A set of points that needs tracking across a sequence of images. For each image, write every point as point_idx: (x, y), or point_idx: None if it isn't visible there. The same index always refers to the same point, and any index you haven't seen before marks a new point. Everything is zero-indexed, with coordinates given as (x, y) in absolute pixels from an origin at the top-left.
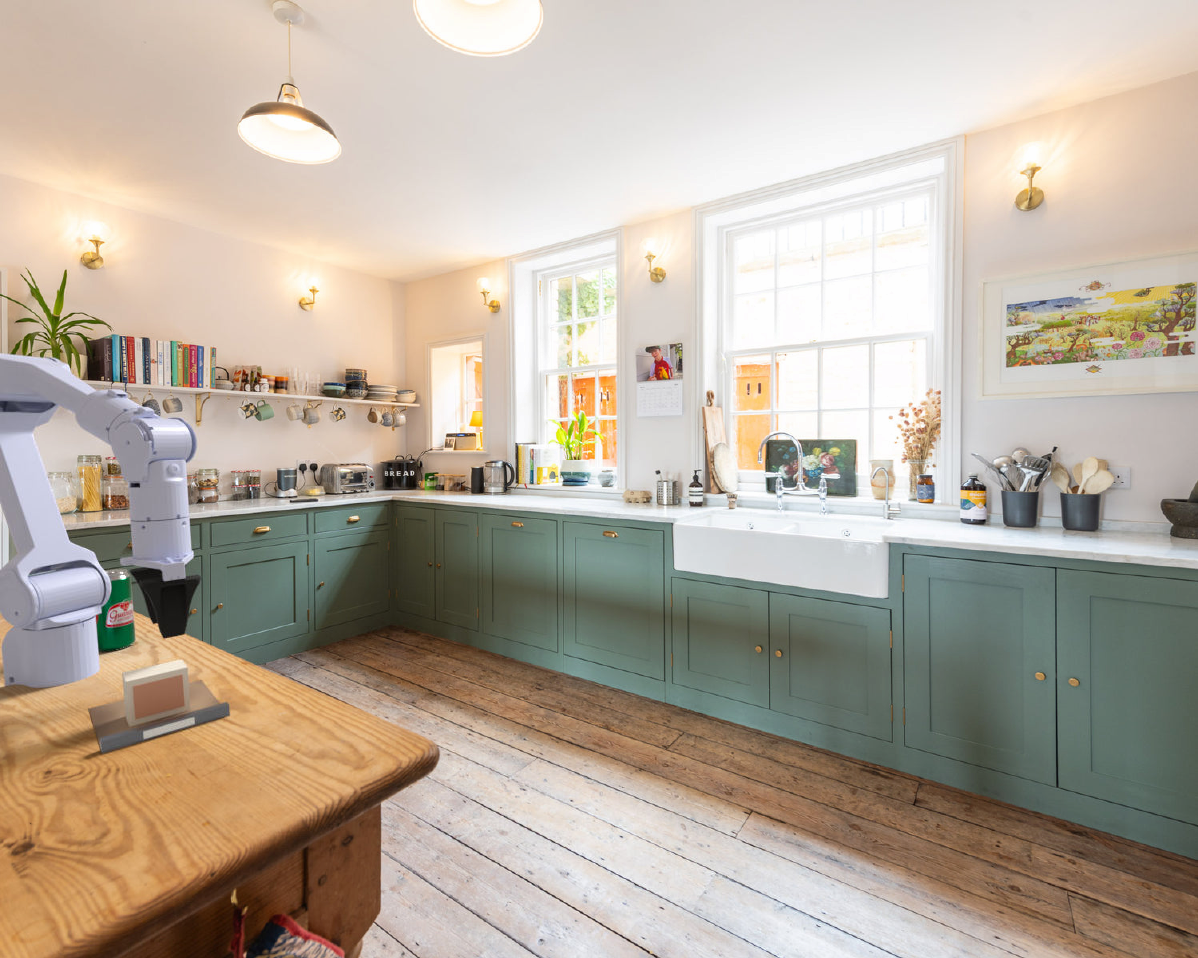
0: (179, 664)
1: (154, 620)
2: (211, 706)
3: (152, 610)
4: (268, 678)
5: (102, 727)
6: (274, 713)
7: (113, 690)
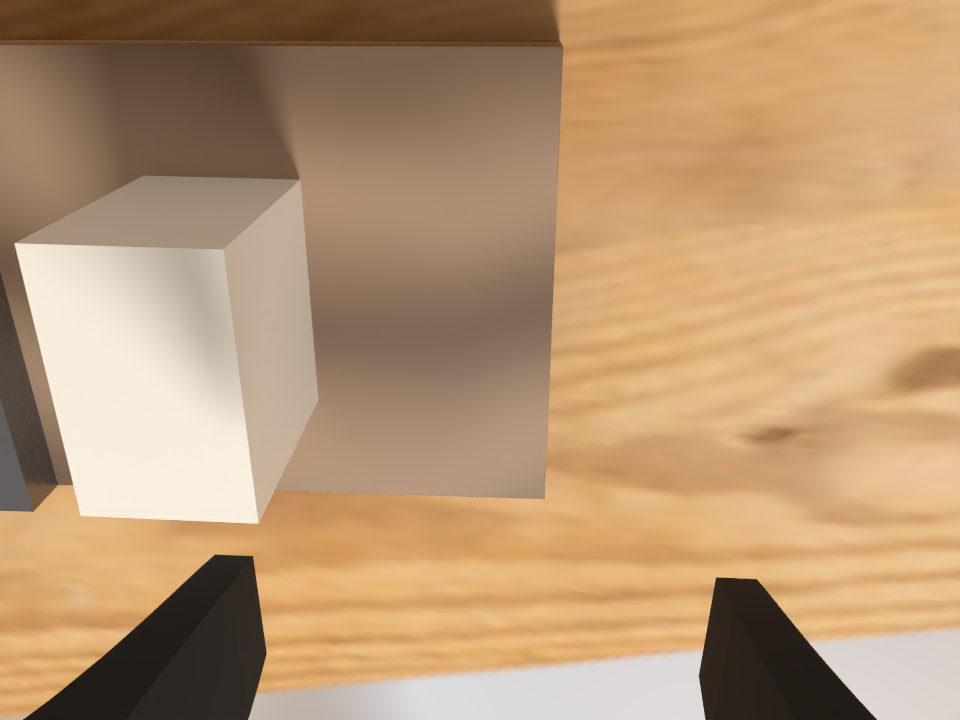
0: (161, 497)
1: (718, 604)
2: (15, 461)
3: (749, 667)
4: (477, 657)
5: (221, 78)
6: (95, 578)
7: (947, 182)
